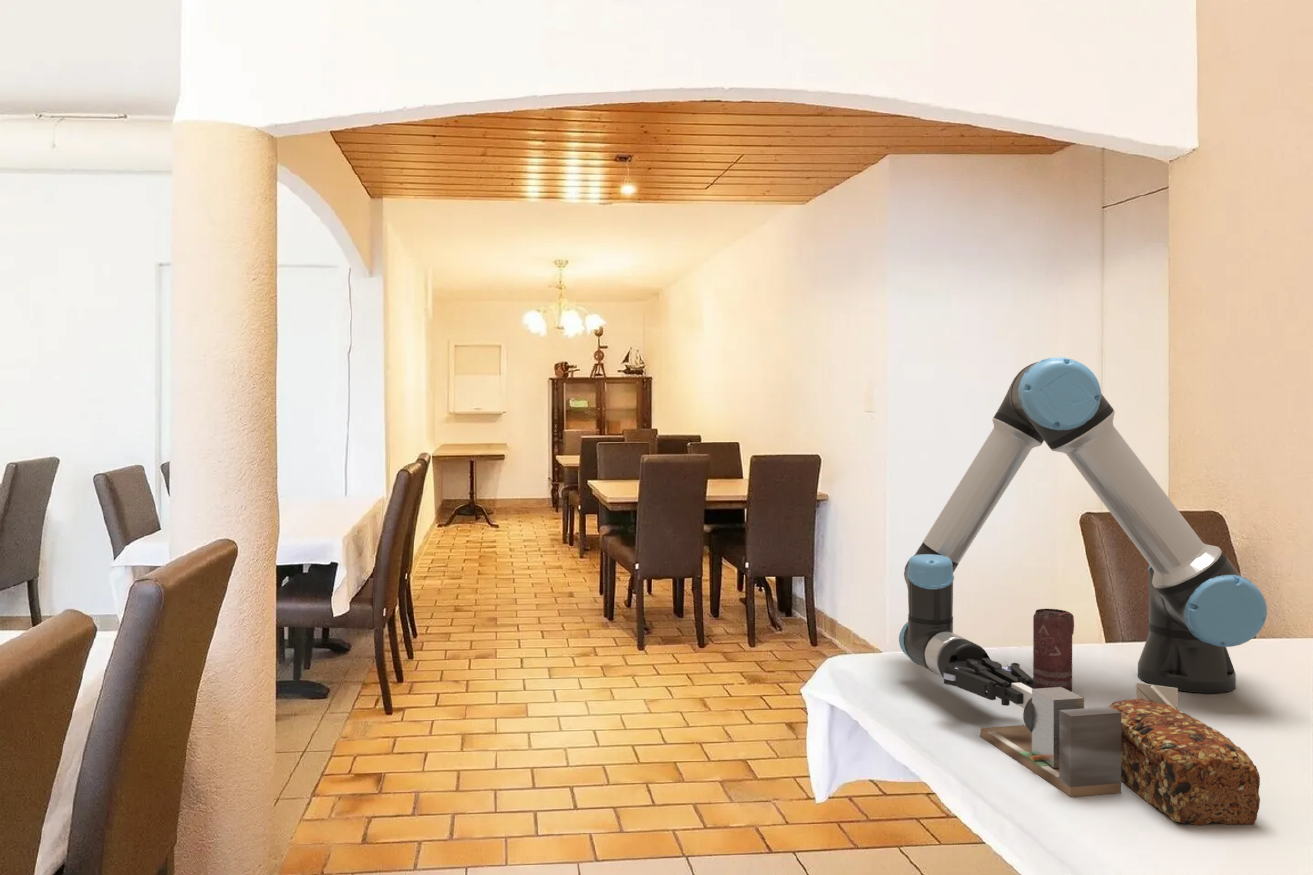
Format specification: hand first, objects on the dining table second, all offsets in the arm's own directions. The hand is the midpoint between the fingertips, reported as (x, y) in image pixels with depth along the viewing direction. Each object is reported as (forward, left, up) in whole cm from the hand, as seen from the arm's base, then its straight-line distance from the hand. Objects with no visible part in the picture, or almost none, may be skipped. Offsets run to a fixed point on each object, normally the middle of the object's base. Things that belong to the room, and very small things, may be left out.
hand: (1041, 705), depth 127 cm
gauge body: (0, 0, -7) cm, 8 cm away
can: (-14, -30, -8) cm, 34 cm away
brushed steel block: (0, +3, -6) cm, 7 cm away
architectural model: (-21, -10, -8) cm, 25 cm away
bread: (-12, +12, -8) cm, 18 cm away
